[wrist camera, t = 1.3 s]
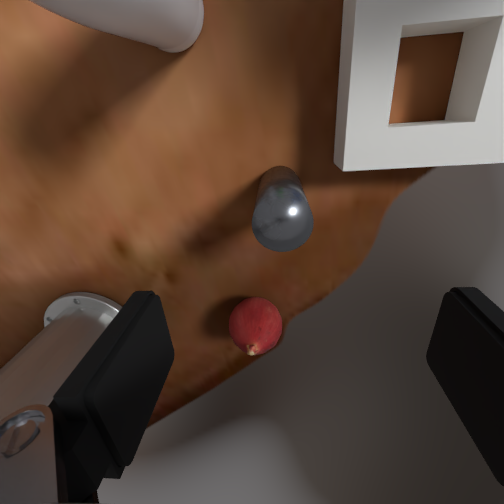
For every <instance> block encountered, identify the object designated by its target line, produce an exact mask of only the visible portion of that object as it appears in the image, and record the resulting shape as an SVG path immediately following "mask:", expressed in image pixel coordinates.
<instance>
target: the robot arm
mask: <svg viewBox="0 0 504 504" xmlns="http://www.w3.org/2000/svg"><path fill="white" fill-rule="evenodd" d="M44 326H45V328H44V329H43V330H42V331H41V332H40V333H39V334H37V335H36V336H35V337H34V338H33V339H32V340H31V341H30V342H29V343H28V344H27V345H26V346H25V347H24V348H23V349H22V350H20V351H19V352H18V353H17V354H16V355H15V356H14V357H13V358H12V359H11V360H10V361H9V362H8V363H7V364H6V365H5V366H3V367H2V368H1V369H0V504H99V499H98V493H97V489H98V487H99V485H100V483H101V481H102V479H103V478H114V479H120V478H121V475H122V473H123V471H124V468H125V466H129V465H130V464H131V462H132V461H133V458H134V456H135V454H136V451H137V449H138V446H139V444H140V441H141V439H142V436H143V434H144V432H145V429H146V427H147V424H148V422H149V419H150V417H151V415H152V412H153V410H154V407H155V405H156V402H157V400H158V397H159V395H160V393H161V390H162V388H163V385H164V383H165V380H166V378H167V375H168V373H169V371H170V368H171V366H172V363H173V360H174V348H173V345H172V341H171V337H170V334H169V330H168V326H167V322H166V319H165V315H164V311H163V308H162V304H161V300H160V297H159V296H158V295H155V293H154V292H153V291H135V292H134V293H133V294H132V295H131V297H130V298H129V299H128V301H127V302H126V303H125V304H124V306H123V307H122V306H120V305H119V304H117V303H116V302H114V301H112V300H110V299H108V298H106V297H103V296H100V295H97V294H93V293H87V292H74V293H68V294H65V295H63V296H61V297H59V298H58V299H56V300H55V301H54V302H53V303H52V304H51V305H49V306H48V308H47V310H46V311H45V315H44ZM426 358H427V363H428V365H429V367H430V369H431V370H432V372H433V373H434V375H435V377H436V379H437V380H438V382H439V384H440V385H441V387H442V389H443V390H444V392H445V394H446V395H447V397H448V399H449V400H450V402H451V404H452V406H453V407H454V409H455V411H456V412H457V414H458V416H459V417H460V419H461V421H462V422H463V424H464V426H465V427H466V429H467V431H468V432H469V434H470V436H471V438H472V439H473V441H474V443H475V444H476V446H477V447H478V449H479V451H480V453H481V454H482V456H483V458H484V459H485V461H486V463H487V464H488V466H489V468H490V469H491V471H492V473H493V475H494V476H495V478H496V479H497V481H498V482H499V483H500V484H501V485H502V486H504V312H503V311H502V310H501V309H500V308H499V307H498V306H496V304H494V303H493V302H492V301H491V300H490V299H489V298H488V297H487V296H485V295H484V294H483V293H482V292H481V291H480V290H478V289H477V288H475V287H454V288H452V289H451V290H450V291H449V292H447V293H445V295H444V297H443V300H442V304H441V307H440V310H439V314H438V317H437V320H436V324H435V327H434V330H433V334H432V337H431V340H430V344H429V347H428V350H427V355H426Z"/></svg>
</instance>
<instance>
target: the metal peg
mask: <svg viewBox="0 0 504 504" xmlns="http://www.w3.org/2000/svg"><path fill="white" fill-rule="evenodd" d="M252 229H253V233H254V235H255V237H256V239H257V240H258V241H259V242H260V243H261V244H262V245H263V246H264V247H266V248H268V249H270V250H273V251H279V252H285V251H291V250H294V249H296V248H298V247H300V246H301V245H302V244H304V243H305V242H306V241H307V239H308V238H309V236H310V235H311V232H312V229H313V215H312V212H311V210H310V207H309V204H308V202H307V199H306V196H305V193H304V191H303V188H302V185H301V183H300V180H299V178H298V176H297V174H296V173H295V172H294V171H293V170H292V169H290V168H288V167H285V166H276V167H273V168H271V169H269V170H267V171H266V172H265V173H264V174H263V176H262V178H261V180H260V183H259V188H258V193H257V198H256V203H255V208H254V213H253V218H252Z"/></svg>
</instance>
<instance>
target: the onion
mask: <svg viewBox="0 0 504 504" xmlns="http://www.w3.org/2000/svg"><path fill="white" fill-rule="evenodd" d="M229 332H230V335H231V337H232V339H233V341H234V343H235V344H236V346H238V347H239V348H240V349H241V350H242V351H244V352H246V353H247V354H248V355H258V354H262V353H265V352H266V351H268V350H269V349H271V348H272V347H274V346H275V345H276V343H277V341H278V339H279V337H280V335H281V333H282V318H281V316H280V314H279V312H278V310H277V307H275V306H274V305H273V304H272V303H271V302H270V301H269V300H266V299H264V298H261V297H250V298H247V299H244V300H243V301H242V302H240V303H239V304H238V305H236V306H235V308H234V310H233V311H232V313H231V315H230V317H229Z"/></svg>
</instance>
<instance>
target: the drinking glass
mask: <svg viewBox="0 0 504 504" xmlns="http://www.w3.org/2000/svg"><path fill="white" fill-rule="evenodd" d="M29 1H31V2H33V3H35V4H36V5H38V6H40V7H42V8H44V9H46V10H48V11H50V12H52V13H55V14H57V15H59V16H61V17H64V18H66V19H68V20H71V21H73V22H75V23H78V24H80V25H83V26H86V27H89V28H92V29H95V30H98V31H102V32H105V33H108V34H112V35H116V36H119V37H123V38H127V39H130V40H134V41H138V42H141V43H145V44H148V45H151V46H154V47H156V48H158V49H160V50H162V51H166V52H171V53H176V52H181V51H184V50H186V49H187V48H189V47H190V46H191V45H192V44H193V43H194V42H195V41H196V40H197V38H198V36H199V34H200V32H201V29H202V26H203V20H204V5H203V0H29Z"/></svg>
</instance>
